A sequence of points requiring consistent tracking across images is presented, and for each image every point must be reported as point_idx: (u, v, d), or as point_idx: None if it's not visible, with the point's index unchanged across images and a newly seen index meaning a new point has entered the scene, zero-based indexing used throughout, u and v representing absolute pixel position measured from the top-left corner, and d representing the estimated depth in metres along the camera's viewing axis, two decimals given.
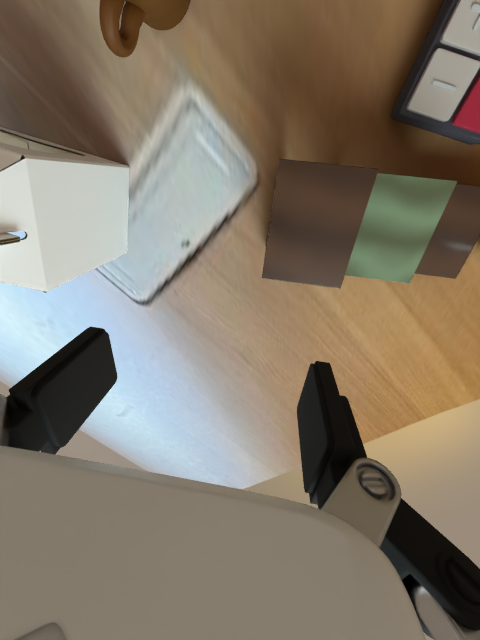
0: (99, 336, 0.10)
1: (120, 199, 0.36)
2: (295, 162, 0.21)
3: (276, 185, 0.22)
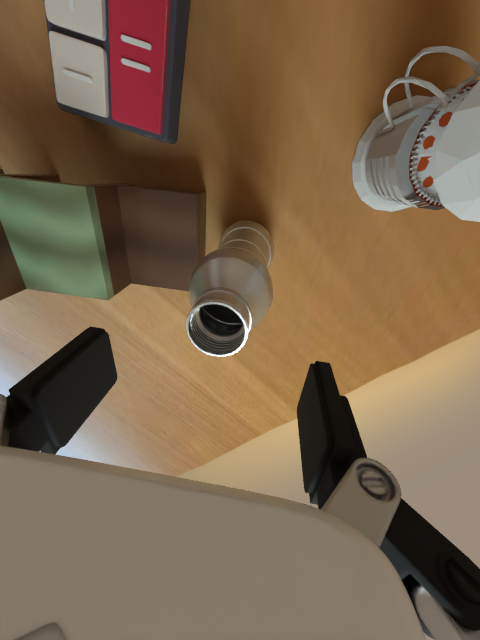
0: (99, 336, 0.10)
1: None
2: None
3: None
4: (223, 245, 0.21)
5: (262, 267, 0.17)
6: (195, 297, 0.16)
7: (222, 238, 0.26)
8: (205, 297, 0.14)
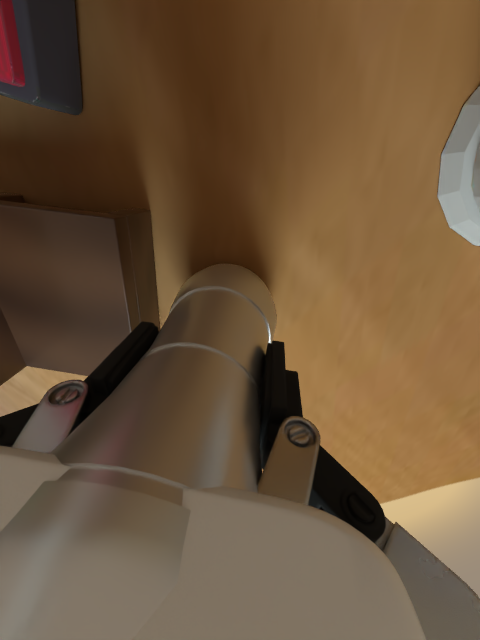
0: (152, 330, 0.11)
1: None
2: None
3: None
4: (139, 369, 0.08)
5: None
6: None
7: (173, 305, 0.13)
8: None
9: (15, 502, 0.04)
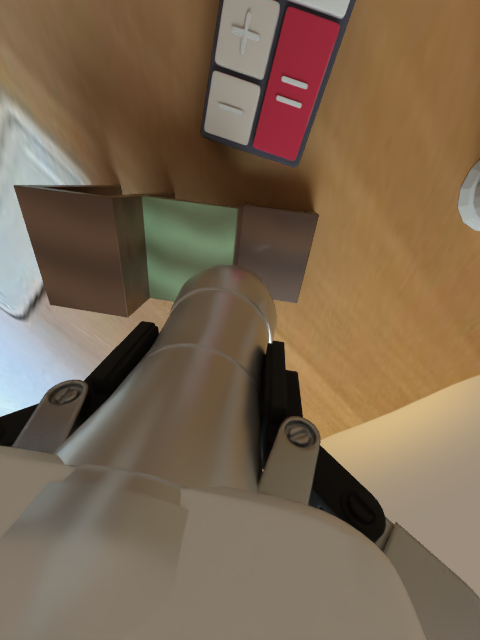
0: (152, 330, 0.11)
1: None
2: (29, 189, 0.20)
3: (22, 212, 0.21)
4: (139, 370, 0.08)
5: None
6: None
7: (173, 305, 0.13)
8: None
9: (15, 502, 0.04)
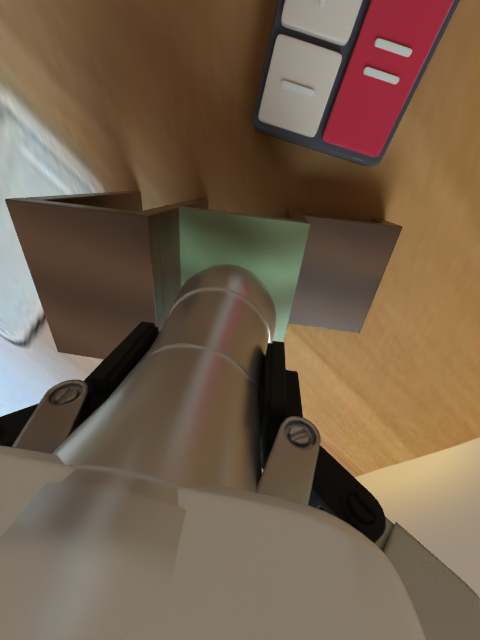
0: (152, 330, 0.11)
1: None
2: (28, 204, 0.14)
3: (18, 235, 0.15)
4: (138, 370, 0.08)
5: None
6: None
7: (173, 305, 0.13)
8: None
9: (15, 502, 0.04)
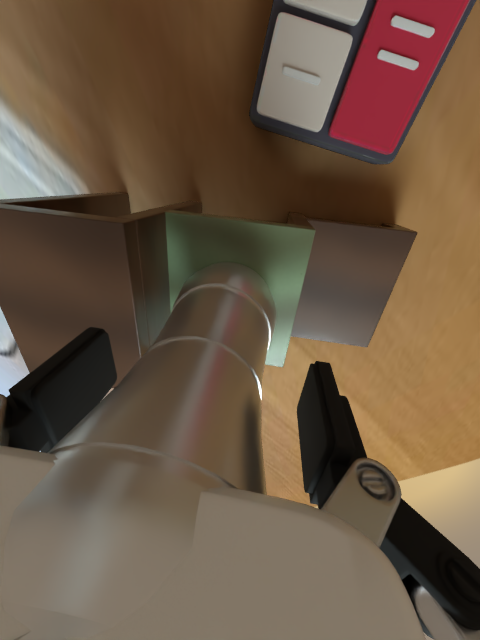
0: (99, 336, 0.10)
1: None
2: None
3: None
4: (145, 361, 0.08)
5: None
6: None
7: (176, 301, 0.13)
8: None
9: (15, 502, 0.04)
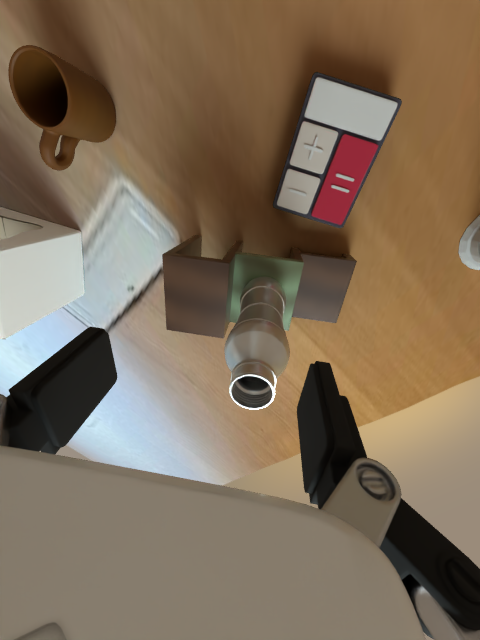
0: (99, 336, 0.10)
1: (73, 257, 0.45)
2: (173, 257, 0.30)
3: (163, 270, 0.31)
4: (249, 309, 0.26)
5: (282, 337, 0.22)
6: (232, 360, 0.22)
7: (244, 293, 0.32)
8: (243, 367, 0.19)
9: (15, 502, 0.04)
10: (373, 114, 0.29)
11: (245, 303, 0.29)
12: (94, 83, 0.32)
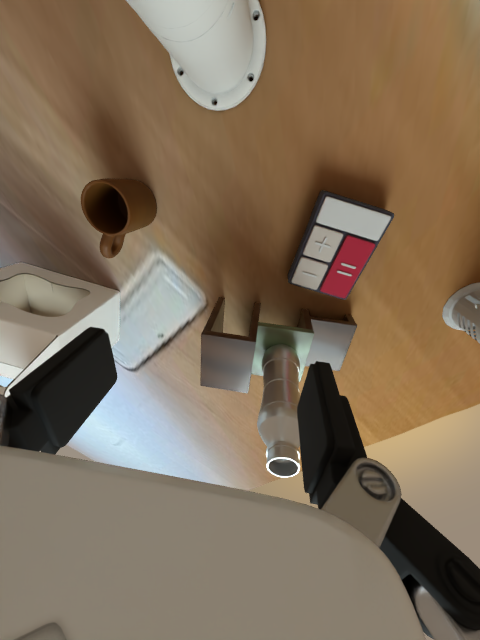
0: (99, 336, 0.10)
1: (113, 313, 0.52)
2: (210, 336, 0.38)
3: (201, 344, 0.39)
4: (273, 385, 0.34)
5: None
6: (265, 436, 0.29)
7: (266, 362, 0.39)
8: (277, 449, 0.27)
9: (15, 502, 0.04)
10: (371, 223, 0.36)
11: (269, 375, 0.37)
12: (143, 190, 0.39)
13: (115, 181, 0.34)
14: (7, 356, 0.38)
